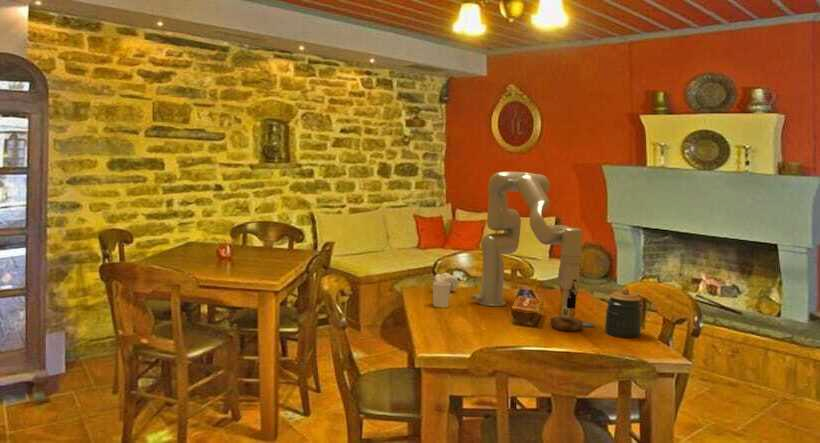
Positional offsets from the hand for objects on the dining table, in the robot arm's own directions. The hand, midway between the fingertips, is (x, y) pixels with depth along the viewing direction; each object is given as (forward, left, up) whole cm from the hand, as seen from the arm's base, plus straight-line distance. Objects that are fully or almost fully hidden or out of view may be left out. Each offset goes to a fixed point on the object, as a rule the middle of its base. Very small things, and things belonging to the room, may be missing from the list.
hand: (567, 305), depth 233 cm
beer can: (0, 0, -5) cm, 5 cm away
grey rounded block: (-35, +63, -9) cm, 72 cm away
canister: (+19, -8, -9) cm, 23 cm away
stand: (0, 0, -9) cm, 9 cm away
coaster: (+10, +4, -9) cm, 14 cm away
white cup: (-42, +36, -9) cm, 56 cm away
